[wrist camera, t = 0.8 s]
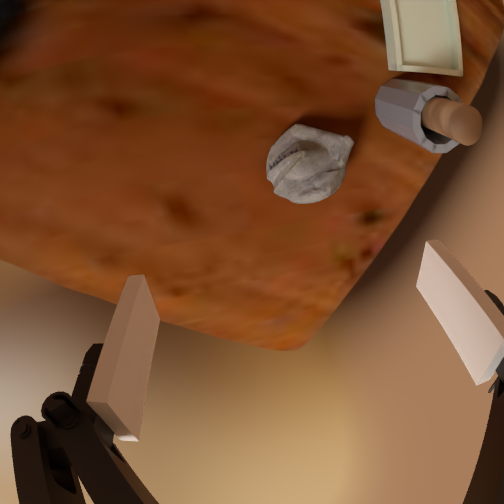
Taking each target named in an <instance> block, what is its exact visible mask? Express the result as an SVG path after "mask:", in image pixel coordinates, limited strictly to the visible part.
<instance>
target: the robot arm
mask: <svg viewBox="0 0 504 504" xmlns="http://www.w3.org/2000/svg"><path fill="white" fill-rule="evenodd" d="M416 287H417V288H418V290H419V291H420V293H421V294H422V296H423V297H424V299H425V300H426V302H427V303H428V305H429V307H430V308H431V310H432V311H433V313H434V314H435V316H436V317H437V319H438V320H439V322H440V324H441V325H442V327H443V329H444V330H445V332H446V333H447V335H448V337H449V338H450V340H451V342H452V343H453V345H454V347H455V348H456V350H457V352H458V353H459V355H460V357H461V359H462V360H463V362H464V364H465V366H466V367H467V369H468V371H469V373H470V375H471V376H472V378H473V380H474V382H475V383H476V385H479V384H481V383H483V382H485V381H488V380H490V378H491V377H492V375H493V374H494V372H495V371H496V372H497V374H498V377H497V379H496V380H495V382H494V383H493V385H492V386H491V388H490V389H489V392H488V393H490V392H491V391H492V390H493V389H494V393H493V400H492V405H491V410H490V415H489V420H488V424H487V428H486V432H485V436H484V440H483V444H482V448H481V451H480V455H479V458H478V461H477V464H476V468H475V471H474V474H473V477H472V480H471V483H470V486H469V488H468V491H467V494H466V497H465V499H464V502H463V504H504V306H503V304H502V302H501V301H500V300H499V299H498V297H497V296H495V295H494V294H493V293H491V292H490V291H488V290H485V291H484V290H483V289H482V288H481V287H480V285H479V284H478V283H477V282H476V281H475V279H474V278H473V277H472V276H471V275H470V274H469V272H468V271H467V270H466V269H465V268H464V267H463V265H462V264H461V263H460V262H459V261H458V260H457V259H456V258H455V257H454V256H453V254H452V253H451V252H450V251H449V250H448V249H447V248H446V247H445V246H444V245H443V244H442V242H441V241H440V240H439V239H437V240H430V241H426V244H425V250H424V254H423V259H422V264H421V268H420V272H419V276H418V281H417V285H416ZM159 322H160V318H159V315H158V313H157V310H156V307H155V304H154V302H153V299H152V296H151V293H150V291H149V288H148V285H147V282H146V279H145V276H144V274H143V275H134V276H128V278H127V281H126V284H125V286H124V289H123V291H122V294H121V297H120V299H119V302H118V305H117V307H116V310H115V313H114V316H113V319H112V322H111V324H110V327H109V330H108V333H107V336H106V339H105V342H104V344H93V345H92V346H91V347H90V349H89V350H88V351H87V352H86V354H85V357H84V360H83V363H82V366H81V369H80V372H79V373H80V374H79V375H78V378H77V381H76V384H75V387H74V390H73V393H72V396H70V395H69V394H68V393H65V392H55V393H53V394H51V395H50V396H49V397H47V398H46V400H45V401H44V403H43V405H42V409H41V413H42V417H43V418H44V419H45V420H46V421H42V422H36V421H35V420H34V419H33V418H32V417H30V416H22V417H20V418H18V419H17V420H16V421H15V422H14V423H13V425H12V427H11V447H12V457H13V466H14V474H15V481H16V487H17V493H18V499H19V504H86V503H85V499H84V496H83V493H82V489H81V486H80V482H79V479H78V477H79V478H80V480H81V482H82V484H83V485H84V487H85V489H86V491H87V492H88V494H89V496H90V497H91V499H92V501H93V502H94V504H159V503H158V502H157V501H156V500H155V498H154V497H153V496H152V495H151V493H150V492H149V491H148V490H147V488H146V487H145V486H144V484H143V483H142V482H141V481H140V479H139V478H138V476H136V474H135V472H134V471H133V470H132V468H131V467H130V466H129V464H128V463H127V461H126V460H125V459H124V457H123V456H122V454H121V453H120V451H119V450H118V448H117V447H116V445H115V444H114V443H113V437H114V434H115V435H116V436H117V437H118V438H119V439H120V440H127V441H139V437H140V429H141V423H142V416H143V409H144V403H145V397H146V391H147V385H148V379H149V374H150V368H151V363H152V357H153V352H154V347H155V342H156V337H157V331H158V327H159Z"/></svg>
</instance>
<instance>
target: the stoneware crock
mask: <svg viewBox="0 0 504 504" xmlns="http://www.w3.org/2000/svg"><path fill="white" fill-rule="evenodd" d="M434 96H437V97H440V98H444V99H448V100H452V101H455V102H459V103H462V101H461V98H460V97H459V96H458V95H457V94H456V93H454V92H453V91H452V90H451V89H450V88H448V87H445V86H441V85H436V84H430V83H425V82H420V81H414V80H408V79H391V80H389V81H388V82H386V83H385V84H383V85H382V86H381V87H380V89H379V91H378V93H377V95H376V97H375V112H376V115H377V117H378V119H379V120H380V122H381V124H382V125H383V126H384V127H385V128H387V129H389V130H390V131H392V132H394V133H396V134H398V135H400V136H401V137H403V138H405V139H407V140H409V141H411V142H413V143H415V144H417V145H419V146H421V147H423V148H424V149H426V150H428V151H430V152H432V153H447V152H448V151H450V150H451V149H453V148H454V147H455V146H457V145H458V144H459V142H457V141H455V140H453V139H451V138H449V137H446V136H444V135H442V134H440V133H437V132H435V131H433V130H431V129H428V128H426V127H423V126H421V111H422V109H423V107H424V105H425V103H426V101H427V100H429V99H431V98H432V97H434ZM462 104H463V103H462Z"/></svg>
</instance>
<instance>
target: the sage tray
mask: <svg viewBox="0 0 504 504" xmlns="http://www.w3.org/2000/svg"><path fill="white" fill-rule="evenodd" d="M380 1H381V8H382V14H383V22H384V30H385V38H386V48H387V58H388V70H394V71H409V72H423V73H434V74H444V75H453V76H460V77H463V63H462V48H461V37H460V27H459V19H458V12H457V5H456V0H380Z"/></svg>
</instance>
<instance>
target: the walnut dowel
mask: <svg viewBox="0 0 504 504" xmlns="http://www.w3.org/2000/svg"><path fill="white" fill-rule="evenodd" d="M421 126H423V127H426V128H428V129H431V130H433V131H435V132H437V133H440V134H442V135H444V136H446V137H449V138H451V139H453V140H455V141H457V142H459V143H461V144H464V145H472V144H474V143H475V142H476V141H477V140H478V139H479V137H480V135H481V132H482V119H481V116H480V113H479V112H478V111H477V110H476V109H475V108H474V107H472V106H469V105H465V104H462V103H459V102H455V101H452V100H448V99H444V98H440V97H437V96H434V97H432V98H431V99H429V100H427V101H426V103H425V105H424V107H423V109H422V111H421Z"/></svg>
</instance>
